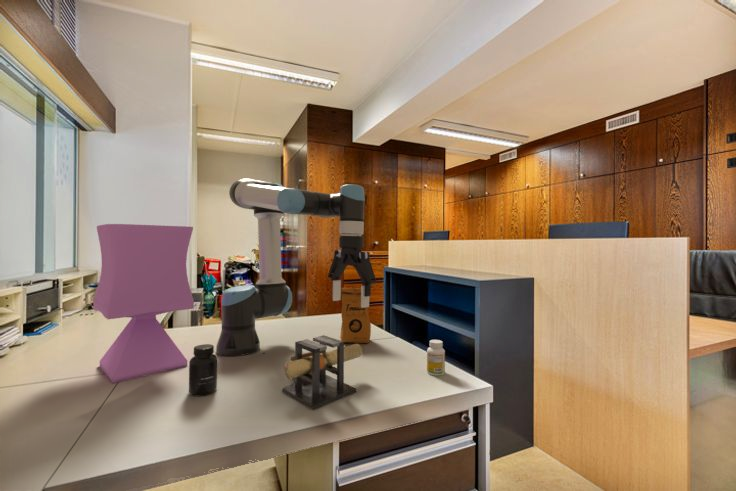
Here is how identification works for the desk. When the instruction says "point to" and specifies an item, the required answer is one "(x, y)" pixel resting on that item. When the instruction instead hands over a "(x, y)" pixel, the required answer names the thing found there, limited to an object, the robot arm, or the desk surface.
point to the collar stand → (319, 375)
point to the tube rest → (302, 358)
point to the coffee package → (354, 317)
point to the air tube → (326, 360)
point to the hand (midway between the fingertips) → (350, 303)
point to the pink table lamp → (142, 295)
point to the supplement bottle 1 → (203, 371)
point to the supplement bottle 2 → (436, 358)
